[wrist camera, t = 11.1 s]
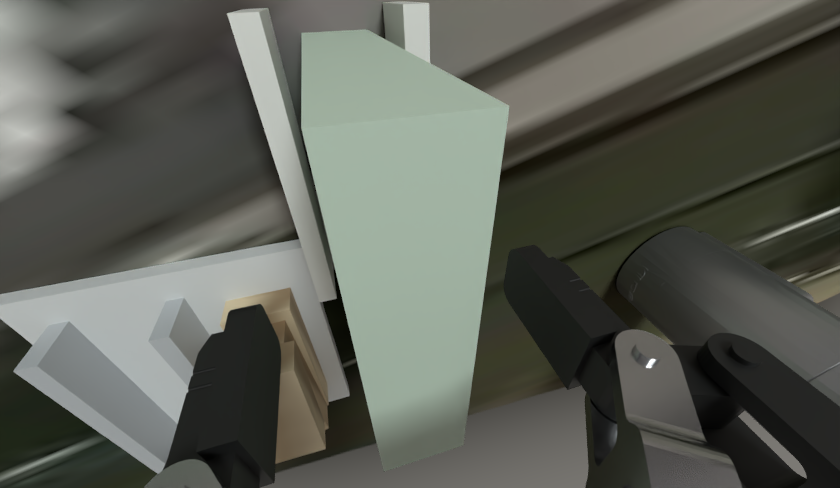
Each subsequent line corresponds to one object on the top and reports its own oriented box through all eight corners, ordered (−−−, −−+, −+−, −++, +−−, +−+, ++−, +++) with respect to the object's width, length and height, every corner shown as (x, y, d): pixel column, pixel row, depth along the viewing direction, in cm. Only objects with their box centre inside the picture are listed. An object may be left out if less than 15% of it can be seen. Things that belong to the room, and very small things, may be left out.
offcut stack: (293, 287, 22) (290, 364, 17) (329, 382, 29) (334, 455, 25) (224, 301, 21) (202, 386, 17) (279, 396, 28) (274, 474, 24)
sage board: (366, 29, 16) (509, 106, 5) (387, 234, 23) (463, 445, 12) (301, 32, 15) (301, 128, 4) (344, 242, 22) (383, 471, 12)
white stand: (403, 1, 15) (429, 3, 12) (415, 240, 24) (432, 277, 21) (243, 9, 14) (226, 13, 11) (317, 260, 23) (319, 302, 19)
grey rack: (302, 238, 21) (302, 279, 18) (348, 386, 32) (353, 427, 29) (0, 294, 18) (-62, 355, 15) (166, 437, 29) (150, 489, 26)
